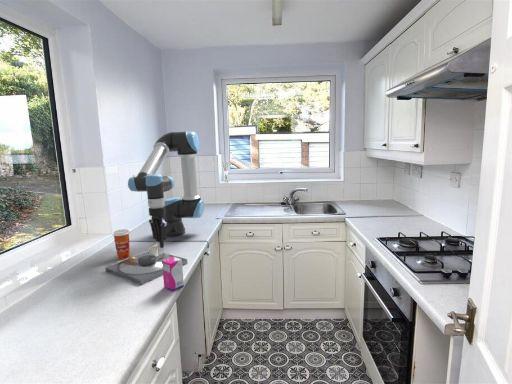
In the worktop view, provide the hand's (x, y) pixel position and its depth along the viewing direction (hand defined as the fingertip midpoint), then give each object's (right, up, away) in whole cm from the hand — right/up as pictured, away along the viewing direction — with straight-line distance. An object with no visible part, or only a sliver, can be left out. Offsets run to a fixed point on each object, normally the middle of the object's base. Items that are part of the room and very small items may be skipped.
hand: (161, 253), depth 146 cm
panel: (-5, -5, -6) cm, 9 cm away
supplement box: (+13, -8, -26) cm, 30 cm away
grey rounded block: (-4, -2, -3) cm, 5 cm away
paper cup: (-22, -4, +8) cm, 23 cm away
